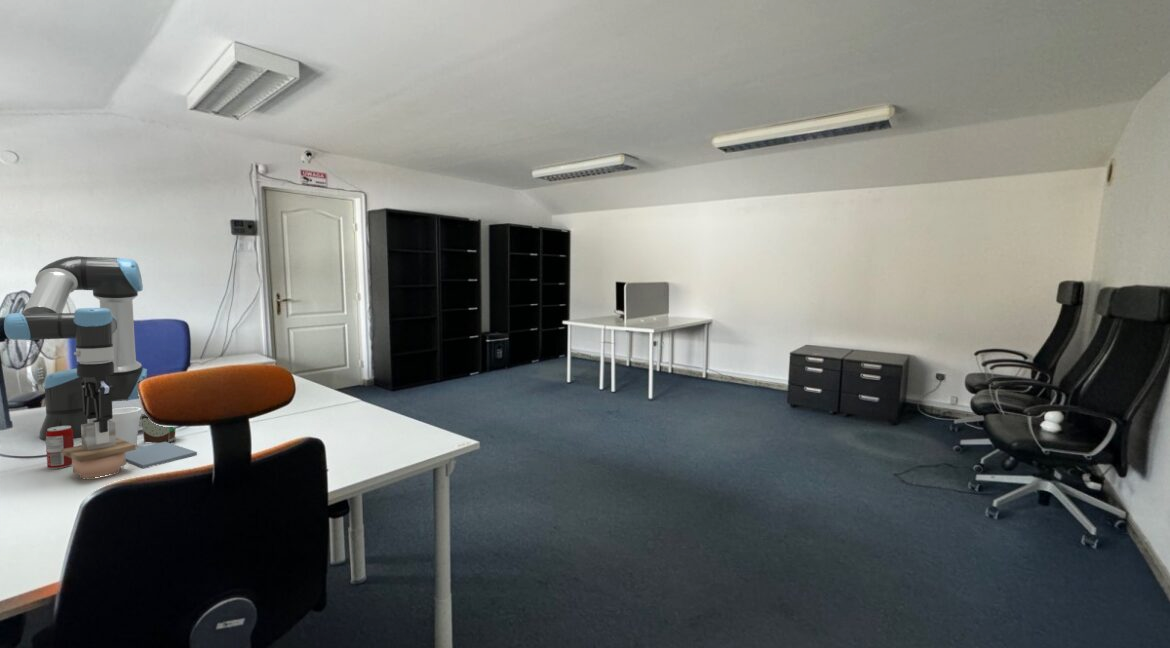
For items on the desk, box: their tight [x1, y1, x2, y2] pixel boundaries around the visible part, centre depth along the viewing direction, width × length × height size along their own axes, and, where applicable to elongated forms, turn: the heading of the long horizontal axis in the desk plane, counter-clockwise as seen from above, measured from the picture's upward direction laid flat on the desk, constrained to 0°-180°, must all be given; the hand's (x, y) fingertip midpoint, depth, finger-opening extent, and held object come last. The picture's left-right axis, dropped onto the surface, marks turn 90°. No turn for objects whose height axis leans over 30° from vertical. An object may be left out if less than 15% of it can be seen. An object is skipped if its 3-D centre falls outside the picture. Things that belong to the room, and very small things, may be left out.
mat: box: [125, 442, 198, 469], centre depth 157 cm, size 20×14×1 cm
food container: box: [140, 412, 177, 444], centre depth 172 cm, size 12×6×10 cm, turn 84°
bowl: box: [71, 452, 127, 480], centre depth 141 cm, size 11×11×6 cm
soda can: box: [45, 426, 75, 470], centre depth 146 cm, size 6×6×12 cm
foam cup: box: [109, 406, 142, 446], centre depth 162 cm, size 10×9×13 cm
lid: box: [61, 420, 137, 462], centre depth 141 cm, size 12×12×8 cm
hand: (98, 441), depth 141 cm, fingers closed on lid, 4 cm apart
